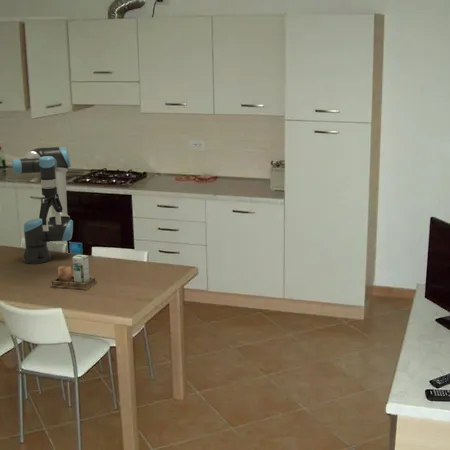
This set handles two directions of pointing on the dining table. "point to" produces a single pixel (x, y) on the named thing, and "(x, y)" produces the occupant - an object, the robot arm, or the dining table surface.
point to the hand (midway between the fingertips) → (52, 227)
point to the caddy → (70, 280)
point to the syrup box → (81, 269)
